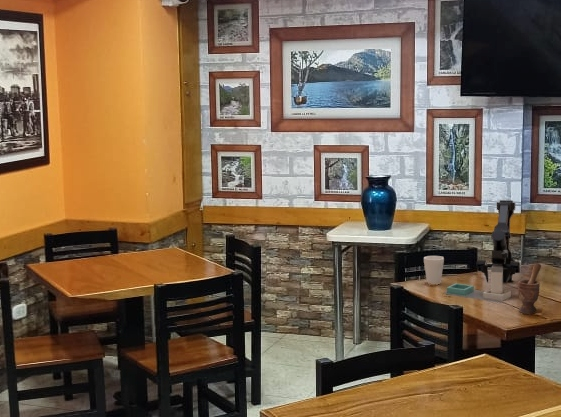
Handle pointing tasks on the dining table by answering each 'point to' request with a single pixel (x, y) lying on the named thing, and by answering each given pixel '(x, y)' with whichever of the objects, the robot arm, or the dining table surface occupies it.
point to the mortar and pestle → (529, 291)
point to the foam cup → (433, 268)
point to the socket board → (476, 293)
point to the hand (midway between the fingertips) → (496, 282)
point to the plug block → (497, 279)
